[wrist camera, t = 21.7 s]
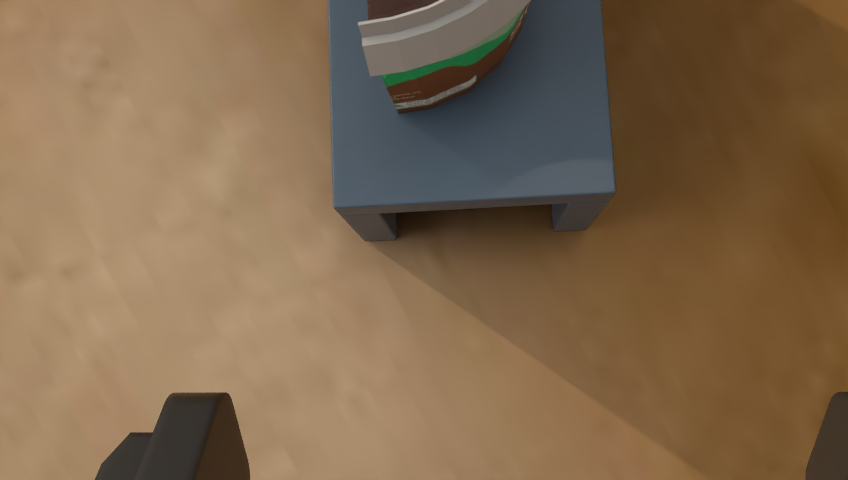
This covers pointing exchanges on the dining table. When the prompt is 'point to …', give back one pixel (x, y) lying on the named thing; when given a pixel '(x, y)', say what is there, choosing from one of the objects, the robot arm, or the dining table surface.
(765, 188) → the dining table surface
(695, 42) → the dining table surface
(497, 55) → the food container
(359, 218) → the blue toy chair
